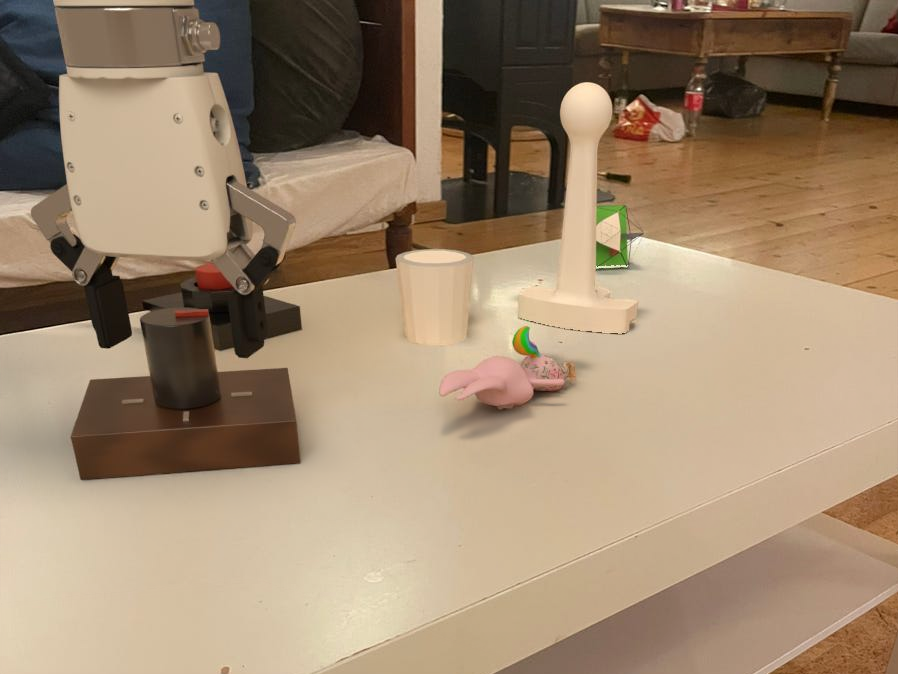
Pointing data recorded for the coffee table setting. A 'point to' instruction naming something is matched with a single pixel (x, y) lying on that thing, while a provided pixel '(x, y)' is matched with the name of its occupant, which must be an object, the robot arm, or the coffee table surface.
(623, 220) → the geometric puzzle
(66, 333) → the coffee table surface
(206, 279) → the button
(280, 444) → the panel
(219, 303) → the button box
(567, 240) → the joystick
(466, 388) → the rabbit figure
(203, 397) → the dial
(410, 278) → the shot glass
